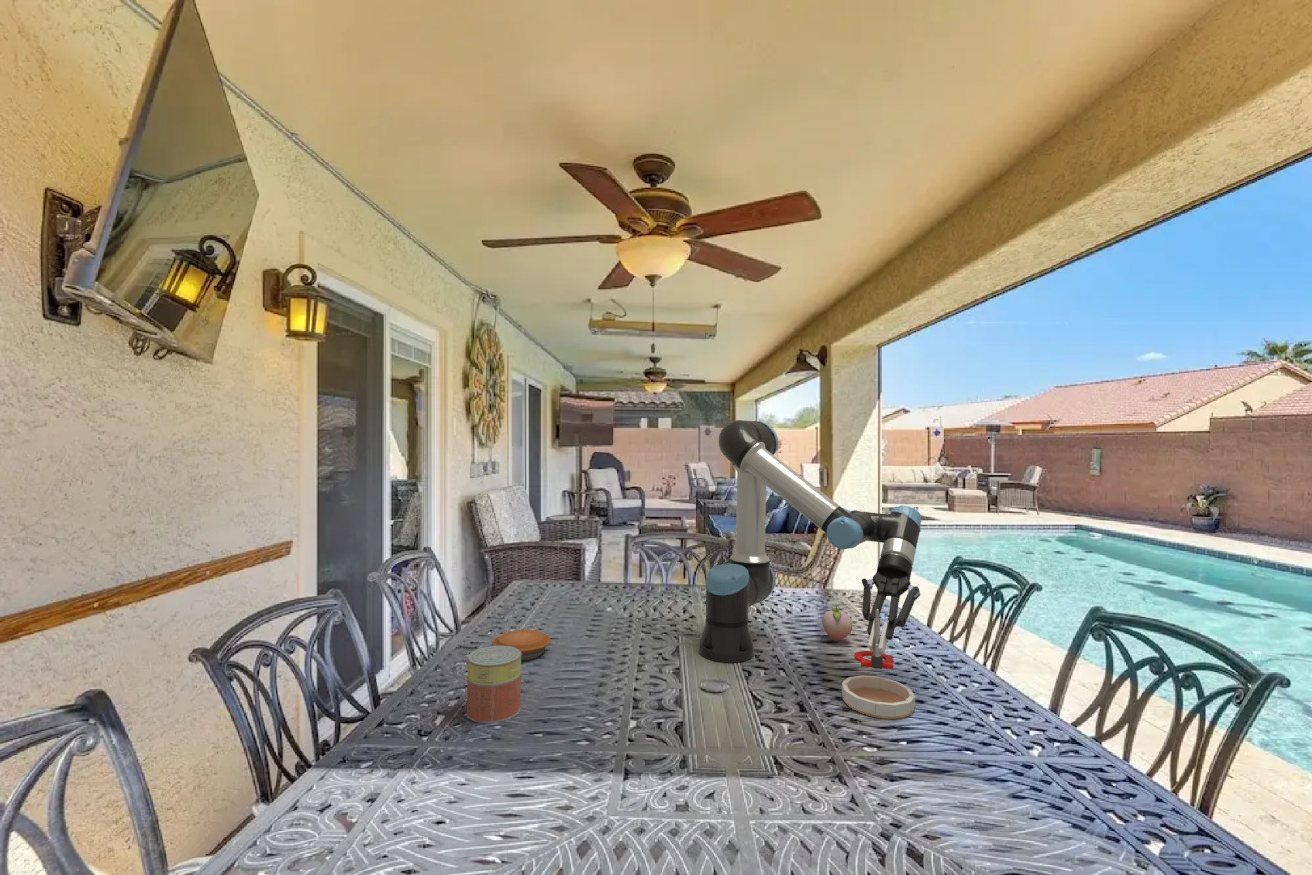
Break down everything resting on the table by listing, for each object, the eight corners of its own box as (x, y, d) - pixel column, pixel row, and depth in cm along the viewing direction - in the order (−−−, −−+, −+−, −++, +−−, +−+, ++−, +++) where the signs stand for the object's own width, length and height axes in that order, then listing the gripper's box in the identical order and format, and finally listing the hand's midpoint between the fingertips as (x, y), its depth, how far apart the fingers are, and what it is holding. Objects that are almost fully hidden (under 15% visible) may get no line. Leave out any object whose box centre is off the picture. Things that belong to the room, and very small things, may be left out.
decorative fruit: (856, 647, 165) (856, 612, 166) (827, 646, 166) (828, 611, 166) (846, 635, 175) (846, 603, 175) (819, 635, 175) (819, 602, 175)
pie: (479, 658, 153) (479, 640, 153) (515, 640, 167) (515, 623, 167) (528, 668, 147) (528, 649, 147) (561, 648, 161) (561, 630, 161)
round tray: (848, 715, 124) (848, 701, 124) (838, 686, 139) (838, 673, 139) (922, 722, 122) (922, 707, 122) (903, 691, 136) (903, 678, 136)
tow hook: (852, 654, 136) (857, 667, 127) (852, 599, 137) (857, 608, 128) (889, 657, 135) (897, 671, 126) (890, 601, 135) (898, 611, 126)
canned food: (504, 693, 132) (504, 641, 132) (530, 711, 124) (531, 655, 124) (457, 709, 124) (457, 653, 124) (482, 728, 116) (483, 669, 116)
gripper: (930, 575, 138) (914, 666, 125) (868, 566, 147) (846, 650, 133) (926, 556, 134) (908, 648, 120) (862, 548, 143) (839, 634, 129)
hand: (876, 649), depth 127 cm, fingers closed on tow hook, 1 cm apart
